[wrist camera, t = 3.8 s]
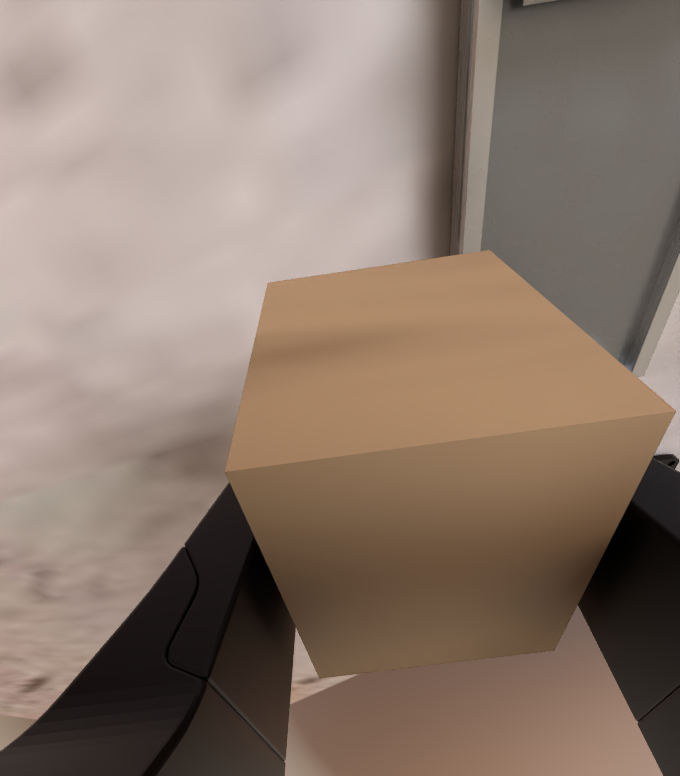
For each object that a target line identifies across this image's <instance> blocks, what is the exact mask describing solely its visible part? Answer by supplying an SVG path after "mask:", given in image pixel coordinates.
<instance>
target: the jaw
mask: <svg viewBox="0 0 680 776" xmlns="http://www.w3.org/2000/svg"><path fill="white" fill-rule="evenodd" d="M550 1H556V0H523V6H525V5H531V4H537V3H543V2H550Z"/></svg>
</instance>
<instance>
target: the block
mask: <svg viewBox="0 0 680 776" xmlns="http://www.w3.org/2000/svg"><path fill="white" fill-rule="evenodd" d="M675 412H676V410H674V409H673V408H672V407H671V406H670V405H669V404H668V403H666V402H665V401H664V400H663V399H662V398H661V397H659V396H658V395H657V394H656V393H655V392H654V391H652V390H651V389H650V388H649V387H648V386H647V385H646V384H644V383H643V382H642V381H641V380H640V379H639V378H637V377H636V376H635V375H634V374H633V373H632V372H630V371H629V370H628V369H627V368H626V367H625V366H624V365H622V364H621V363H620V362H619V361H618V360H617V359H615V358H614V357H613V356H612V355H611V354H610V353H608V352H607V351H606V350H605V349H604V348H603V347H601V346H600V345H599V344H598V343H597V342H596V341H595V340H593V339H592V338H591V337H590V336H589V335H588V334H586V333H585V332H584V331H583V330H582V329H581V328H579V327H578V326H577V325H576V324H575V323H574V322H573V321H571V320H570V319H569V318H568V317H567V316H566V315H564V314H563V313H562V312H561V311H560V310H559V309H557V308H556V307H555V306H554V305H553V304H552V303H551V302H549V301H548V300H547V299H546V298H545V297H544V296H542V295H541V294H540V293H539V292H538V291H537V290H535V289H534V288H533V287H532V286H531V285H530V284H528V283H527V282H526V281H525V280H524V279H523V278H522V277H520V276H519V275H518V274H517V273H516V272H515V271H513V270H512V269H511V268H510V267H509V266H508V265H506V264H505V263H504V262H503V261H502V260H501V259H500V258H498V257H497V256H496V255H495V254H494V253H493V252H491V251H490V250H486V251H479V252H473V253H466V254H459V255H452V256H446V257H439V258H432V259H426V260H419V261H412V262H405V263H399V264H392V265H385V266H378V267H372V268H365V269H358V270H351V271H345V272H338V273H331V274H325V275H318V276H311V277H304V278H298V279H291V280H284V281H277V282H271V283H268V284H267V289H266V293H265V298H264V302H263V306H262V311H261V315H260V320H259V324H258V328H257V333H256V337H255V341H254V346H253V350H252V355H251V359H250V363H249V368H248V372H247V377H246V381H245V385H244V390H243V394H242V399H241V403H240V407H239V412H238V416H237V421H236V425H235V429H234V434H233V438H232V443H231V447H230V451H229V456H228V460H227V465H226V469H225V473H226V475H227V478H228V480H229V482H230V484H231V486H232V489H233V491H234V493H235V495H236V497H237V499H238V502H239V504H240V506H241V508H242V510H243V513H244V515H245V517H246V519H247V521H248V523H249V526H250V528H251V530H252V532H253V534H254V537H255V539H256V541H257V543H258V545H259V548H260V550H261V552H262V554H263V556H264V558H265V561H266V563H267V565H268V567H269V569H270V572H271V574H272V576H273V578H274V580H275V582H276V585H277V587H278V589H279V591H280V593H281V596H282V598H283V600H284V602H285V604H286V606H287V609H288V611H289V613H290V615H291V617H292V620H293V622H294V624H295V626H296V628H297V630H298V633H299V635H300V637H301V639H302V641H303V644H304V646H305V648H306V650H307V652H308V654H309V657H310V659H311V661H312V663H313V665H314V668H315V670H316V672H317V674H318V676H319V678H326V677H335V676H343V675H352V674H360V673H368V672H377V671H385V670H394V669H402V668H411V667H419V666H427V665H436V664H444V663H452V662H461V661H470V660H478V659H486V658H495V657H503V656H512V655H520V654H529V653H537V652H546V651H553V650H555V648H556V646H557V644H558V642H559V640H560V638H561V636H562V635H563V633H564V630H565V629H566V627H567V624H568V622H569V621H570V619H571V617H572V615H573V613H574V611H575V609H576V607H577V605H578V603H579V601H580V599H581V597H582V595H583V593H584V591H585V589H586V587H587V585H588V583H589V581H590V579H591V577H592V576H593V574H594V572H595V570H596V568H597V566H598V564H599V562H600V560H601V558H602V556H603V554H604V552H605V550H606V548H607V546H608V544H609V542H610V540H611V538H612V536H613V534H614V532H615V530H616V528H617V526H618V524H619V522H620V520H621V519H622V517H623V515H624V513H625V511H626V509H627V507H628V505H629V503H630V501H631V499H632V497H633V495H634V493H635V491H636V489H637V487H638V485H639V483H640V481H641V479H642V477H643V475H644V473H645V471H646V469H647V467H648V465H649V463H650V461H651V460H652V458H653V456H654V454H655V452H656V450H657V448H658V446H659V444H660V442H661V440H662V438H663V436H664V434H665V432H666V430H667V428H668V426H669V424H670V422H671V420H672V418H673V416H674V414H675Z"/></svg>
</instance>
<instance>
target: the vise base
mask: <svg viewBox="0 0 680 776" xmlns="http://www.w3.org/2000/svg"><path fill="white" fill-rule="evenodd" d="M486 250H490V251H491V252H493V253H494V254H495V255H496V256H497V257H498V258H500V259H501V260H502V261H503V262H504V263H505V264H506V265H508V266H509V267H510V268H511V269H512V270H513V271H515V272H516V273H517V274H518V275H519V276H520V277H522V278H523V279H524V280H525V281H526V282H527V283H528V284H530V285H531V286H532V287H533V288H534V289H535V290H537V291H538V292H539V293H540V294H541V295H542V296H544V297H545V298H546V299H547V300H548V301H549V302H551V303H552V304H553V305H554V306H555V307H556V308H557V309H559V310H560V311H561V312H562V313H563V314H564V315H566V316H567V317H568V318H569V319H570V320H571V321H573V322H574V323H575V324H576V325H577V326H578V327H579V328H581V329H582V330H583V331H584V332H585V333H586V334H588V335H589V336H590V337H591V338H592V339H593V340H595V341H596V342H597V343H598V344H599V345H600V346H601V347H603V348H604V349H605V350H606V351H607V352H608V353H610V354H611V355H612V356H613V357H614V358H615V359H617V360H618V361H619V362H620V363H621V364H622V365H624V366H625V367H626V368H627V369H628V370H629V371H630V372H632V373H633V374H634V375H635V376H636V377H640V376H644V374H645V372H646V369H647V367H648V365H649V362H650V360H651V357H652V355H653V353H654V350H655V348H656V346H657V343H658V341H659V339H660V336H661V334H662V331H663V329H664V327H665V324H666V322H667V320H668V317H669V315H670V312H671V310H672V308H673V305H674V303H675V301H676V298H677V296H678V294H679V291H680V0H556V1H550V2H543V3H537V4H531V5H525V6H523V0H461V13H460V36H459V59H458V81H457V104H456V127H455V149H454V172H453V195H452V217H451V240H450V256H452V255H459V254H466V253H473V252H479V251H486Z"/></svg>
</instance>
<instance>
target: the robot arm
mask: <svg viewBox="0 0 680 776" xmlns="http://www.w3.org/2000/svg"><path fill="white" fill-rule="evenodd" d="M678 463H679V459H678V458H677V457H676V456H675V455H673V454H668V455H660V456H653V458H652V460H651V461H650V463H649V465H648V467H647V469H646V471H645V473H644V475H643V477H642V479H641V481H640V483H639V485H638V487H637V489H636V491H635V493H634V495H633V497H632V499H631V501H630V503H629V505H628V507H627V509H626V511H625V513H624V515H623V517H622V519H621V520H620V522H619V524H618V526H617V528H616V530H615V532H614V534H613V536H612V538H611V540H610V542H609V544H608V546H607V548H606V550H605V552H604V554H603V556H602V558H601V560H600V562H599V564H598V566H597V568H596V570H595V572H594V574H593V576H592V577H591V579H590V581H589V583H588V585H587V587H586V589H585V591H584V593H583V595H582V597H581V599H580V601H579V603H578V606H579V608H580V610H581V612H582V614H583V616H584V618H585V620H586V622H587V624H588V626H589V628H590V630H591V632H592V634H593V636H594V638H595V640H596V642H597V644H598V646H599V648H600V650H601V652H602V654H603V656H604V658H605V660H606V662H607V664H608V666H609V668H610V670H611V672H612V674H613V676H614V678H615V680H616V682H617V684H618V686H619V688H620V690H621V692H622V694H623V696H624V698H625V700H626V701H627V704H628V705H629V708H630V710H631V712H632V714H633V716H634V718H635V719H636V720H637V721H639V722H638V726H639V728H640V730H641V732H642V734H643V736H644V738H645V740H646V742H647V744H648V746H649V748H650V750H651V752H652V754H653V756H654V758H655V760H656V762H657V764H658V766H659V768H660V770H661V772H662V774H663V776H680V472H678V471H676V470H675V468H676V466H677V465H678ZM295 629H296V626H295V624H294V622H293V620H292V617H291V615H290V613H289V611H288V609H287V606H286V604H285V602H284V600H283V598H282V596H281V593H280V591H279V589H278V587H277V585H276V582H275V580H274V578H273V576H272V574H271V572H270V569H269V567H268V565H267V563H266V561H265V558H264V556H263V554H262V552H261V550H260V548H259V545H258V543H257V541H256V539H255V537H254V534H253V532H252V530H251V528H250V526H249V523H248V521H247V519H246V517H245V515H244V513H243V510H242V508H241V506H240V504H239V502H238V499H237V497H236V495H235V493H234V491H233V489H232V486H231V484H230V482H229V483H228V485H227V486H226V487H225V489H224V490H223V491H222V493H221V494H220V496H219V497H218V498H217V500H216V501H215V502H214V504H213V505H212V507H211V508H210V509H209V511H208V512H207V514H206V515H205V516H204V518H203V519H202V520H201V522H200V523H199V525H198V526H197V527H196V529H195V530H194V531H193V533H192V534H191V536H190V537H189V538H188V540H187V541H186V543H185V547H182V548H181V549H180V551H179V552H178V553H177V555H176V556H175V557H174V559H173V560H172V562H171V563H170V564H169V566H168V567H167V568H166V570H165V571H164V572H163V574H162V575H161V576H160V578H159V579H158V580H157V581H156V583H155V584H154V585H153V587H152V588H151V589H150V591H149V592H148V593H147V594H146V596H145V597H144V598H143V599H142V600H141V602H140V603H139V604H138V605H137V606H136V608H135V609H134V610H133V611H132V612H131V614H130V615H129V616H128V617H127V618H126V620H125V621H124V622H123V623H122V624H121V626H120V627H119V628H118V629H117V630H116V631H115V633H114V634H113V635H112V636H111V637H110V638H109V640H108V641H107V642H106V643H105V644H104V645H103V647H102V648H101V649H100V650H99V651H98V652H97V653H96V655H95V656H94V657H93V658H92V659H91V660H90V662H89V663H88V664H87V665H86V666H85V667H84V669H83V670H82V671H81V672H80V673H79V674H78V676H77V677H76V678H75V679H74V680H73V681H72V683H71V684H70V685H69V686H68V687H67V688H66V690H65V691H64V692H63V693H62V694H61V695H60V696H59V698H58V699H57V700H56V701H55V702H54V703H53V704H52V705H51V706H50V707H49V709H48V710H47V711H46V712H45V713H44V714H43V715H42V716H41V717H40V718H39V719H38V720H37V721H36V722H35V723H34V724H33V725H31V727H29V728H28V729H27V730H26V731H25V732H24V733H22V734H21V735H20V736H19V737H18V738H17V739H15V740H14V741H13V742H12V743H10V744H9V745H8V746H7V747H5V748H4V749H3V750H1V751H0V776H285V762H284V761H285V759H286V748H287V734H288V721H289V708H290V695H291V682H292V668H293V655H294V642H295Z"/></svg>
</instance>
